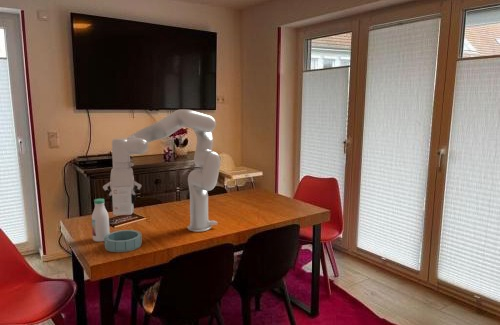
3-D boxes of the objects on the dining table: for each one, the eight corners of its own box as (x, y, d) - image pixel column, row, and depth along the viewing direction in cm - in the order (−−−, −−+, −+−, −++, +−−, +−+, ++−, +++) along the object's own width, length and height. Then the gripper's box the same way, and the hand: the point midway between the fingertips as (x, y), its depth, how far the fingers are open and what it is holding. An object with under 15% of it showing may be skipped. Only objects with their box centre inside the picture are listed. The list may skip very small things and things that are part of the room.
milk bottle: (112, 236, 188) (110, 197, 185) (106, 242, 180) (104, 201, 177) (96, 236, 187) (94, 197, 184) (90, 242, 180) (87, 201, 177)
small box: (133, 211, 177) (132, 184, 175) (131, 215, 171) (130, 186, 169) (116, 211, 176) (114, 184, 174) (112, 215, 170) (111, 187, 168)
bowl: (143, 239, 184) (142, 229, 184) (139, 251, 169) (139, 240, 168) (108, 240, 181) (108, 230, 181) (102, 253, 166) (101, 242, 165)
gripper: (142, 164, 175) (143, 200, 178) (103, 165, 172) (104, 202, 174) (140, 166, 168) (141, 204, 170) (99, 167, 165) (101, 206, 167)
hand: (123, 203), depth 172 cm, fingers closed on small box, 8 cm apart
